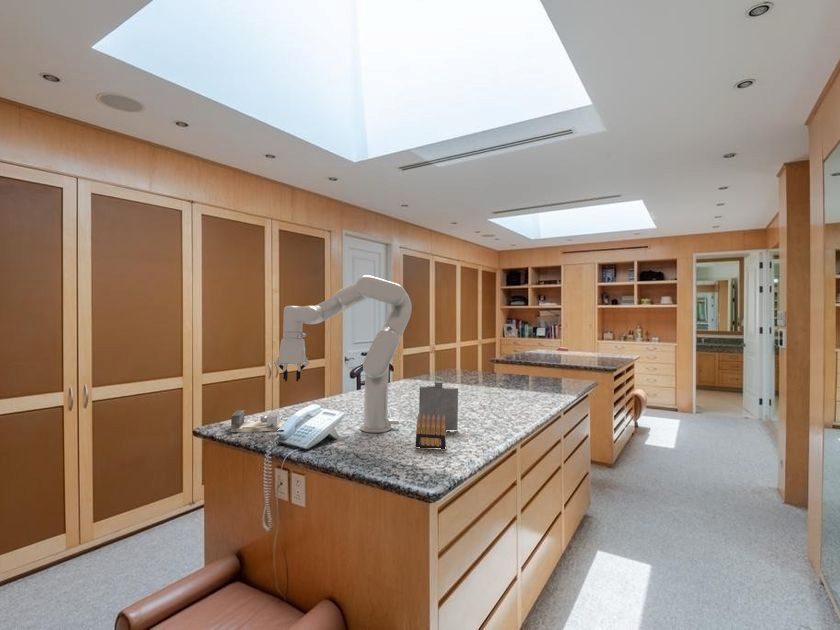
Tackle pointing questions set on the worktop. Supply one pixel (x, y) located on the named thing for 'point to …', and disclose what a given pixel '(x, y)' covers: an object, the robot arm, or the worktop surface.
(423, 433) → the ammunition clip
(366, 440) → the worktop surface
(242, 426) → the gauge base
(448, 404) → the hip flask
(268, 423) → the gauge carriage
